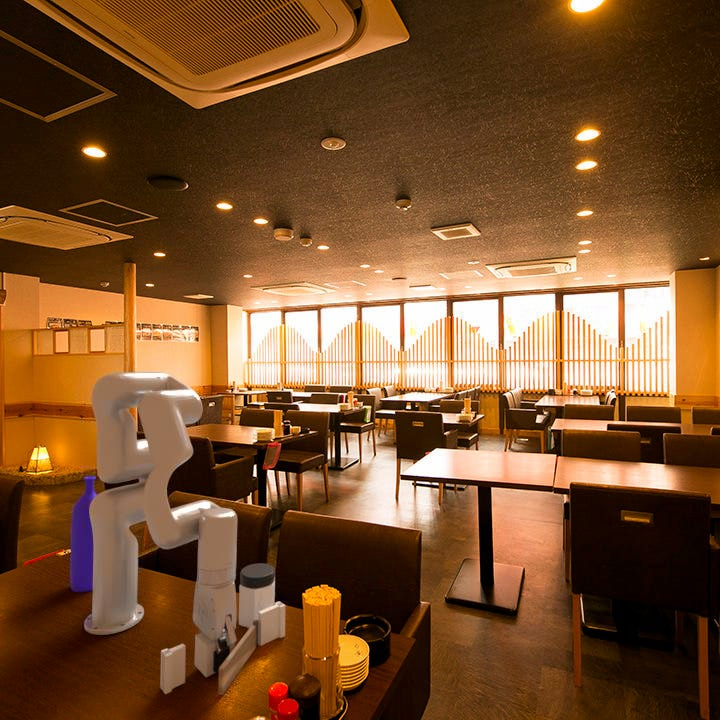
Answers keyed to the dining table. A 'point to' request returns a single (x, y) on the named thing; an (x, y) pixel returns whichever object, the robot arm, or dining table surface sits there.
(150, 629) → the dining table surface
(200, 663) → the block
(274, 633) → the white flat upright blocks
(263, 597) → the jar
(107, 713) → the dining table surface
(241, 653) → the gate
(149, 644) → the dining table surface
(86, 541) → the bottle
